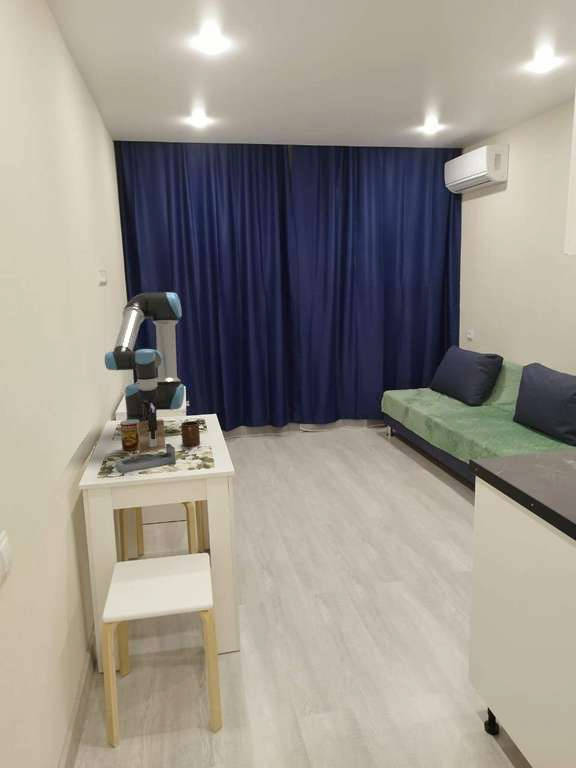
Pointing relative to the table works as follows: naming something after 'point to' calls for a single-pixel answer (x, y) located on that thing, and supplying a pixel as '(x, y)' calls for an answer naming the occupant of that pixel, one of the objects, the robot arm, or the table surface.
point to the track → (148, 460)
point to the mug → (190, 433)
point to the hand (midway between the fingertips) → (152, 444)
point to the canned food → (129, 435)
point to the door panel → (144, 436)
